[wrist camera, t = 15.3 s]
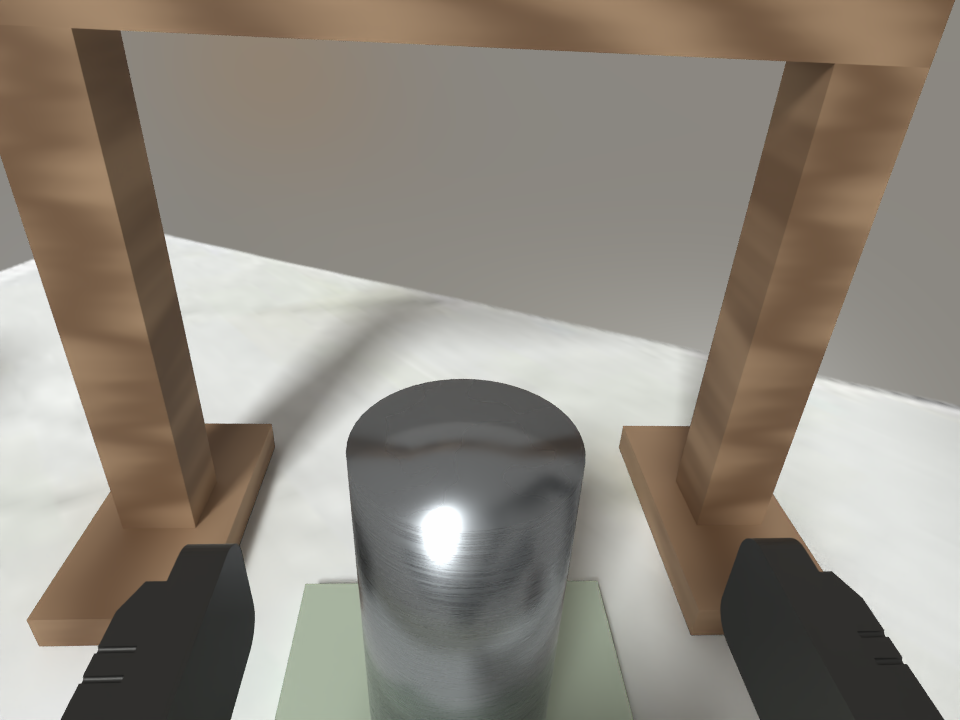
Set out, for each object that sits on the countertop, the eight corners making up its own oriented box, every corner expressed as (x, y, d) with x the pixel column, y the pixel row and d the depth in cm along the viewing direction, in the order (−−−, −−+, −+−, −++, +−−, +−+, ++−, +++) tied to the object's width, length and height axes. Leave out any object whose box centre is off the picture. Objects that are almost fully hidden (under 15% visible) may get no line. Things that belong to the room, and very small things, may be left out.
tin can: (470, 628, 24) (482, 358, 18) (576, 745, 21) (635, 457, 15) (341, 717, 21) (303, 428, 15) (439, 872, 18) (441, 575, 11)
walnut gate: (722, 447, 36) (869, -39, 24) (834, 632, 26) (1184, -55, 14) (160, 445, 34) (20, -88, 22) (39, 646, 24) (-346, -150, 12)
